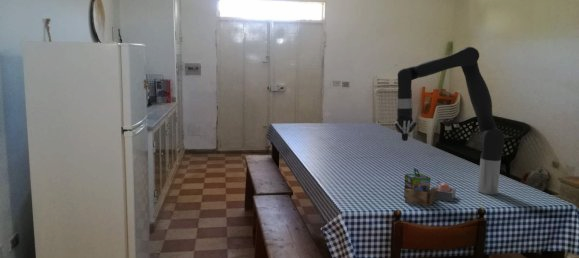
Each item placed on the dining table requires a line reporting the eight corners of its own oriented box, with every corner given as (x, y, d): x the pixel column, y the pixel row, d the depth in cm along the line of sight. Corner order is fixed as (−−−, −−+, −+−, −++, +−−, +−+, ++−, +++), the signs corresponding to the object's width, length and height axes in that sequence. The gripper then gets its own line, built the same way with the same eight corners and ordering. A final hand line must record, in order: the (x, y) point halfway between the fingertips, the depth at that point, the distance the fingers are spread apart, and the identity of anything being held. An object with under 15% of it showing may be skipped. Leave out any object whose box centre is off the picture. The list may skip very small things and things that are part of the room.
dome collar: (455, 196, 209) (455, 188, 208) (451, 201, 201) (452, 193, 201) (436, 193, 213) (436, 185, 213) (431, 198, 206) (432, 190, 205)
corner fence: (435, 200, 203) (436, 187, 202) (429, 206, 193) (430, 193, 192) (411, 196, 209) (412, 184, 208) (404, 201, 199) (405, 189, 198)
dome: (450, 195, 208) (451, 183, 207) (448, 198, 203) (449, 185, 203) (438, 193, 211) (439, 181, 210) (436, 196, 206) (437, 183, 205)
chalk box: (429, 202, 200) (432, 171, 198) (411, 202, 199) (413, 171, 197) (421, 196, 209) (423, 166, 207) (403, 196, 208) (405, 166, 206)
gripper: (396, 108, 216) (396, 142, 218) (420, 107, 219) (420, 140, 221) (389, 107, 223) (389, 140, 225) (412, 106, 226) (412, 139, 228)
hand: (404, 140), depth 223 cm, fingers closed
